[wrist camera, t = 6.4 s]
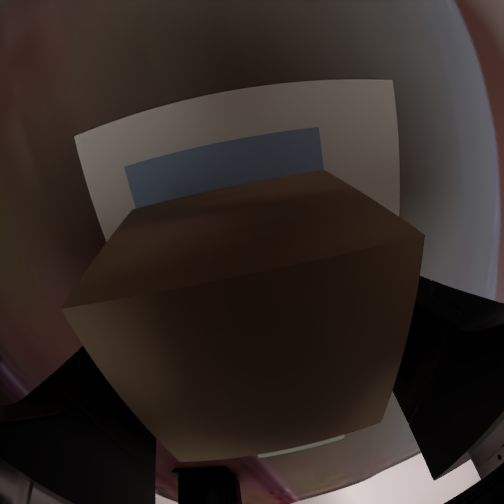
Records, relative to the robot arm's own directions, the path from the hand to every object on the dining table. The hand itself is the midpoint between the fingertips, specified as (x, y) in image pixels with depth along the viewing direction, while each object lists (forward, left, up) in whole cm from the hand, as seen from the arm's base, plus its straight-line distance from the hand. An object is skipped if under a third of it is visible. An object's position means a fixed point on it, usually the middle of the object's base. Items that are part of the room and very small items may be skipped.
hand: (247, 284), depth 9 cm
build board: (+1, -7, -5) cm, 9 cm away
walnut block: (0, 0, -1) cm, 1 cm away
